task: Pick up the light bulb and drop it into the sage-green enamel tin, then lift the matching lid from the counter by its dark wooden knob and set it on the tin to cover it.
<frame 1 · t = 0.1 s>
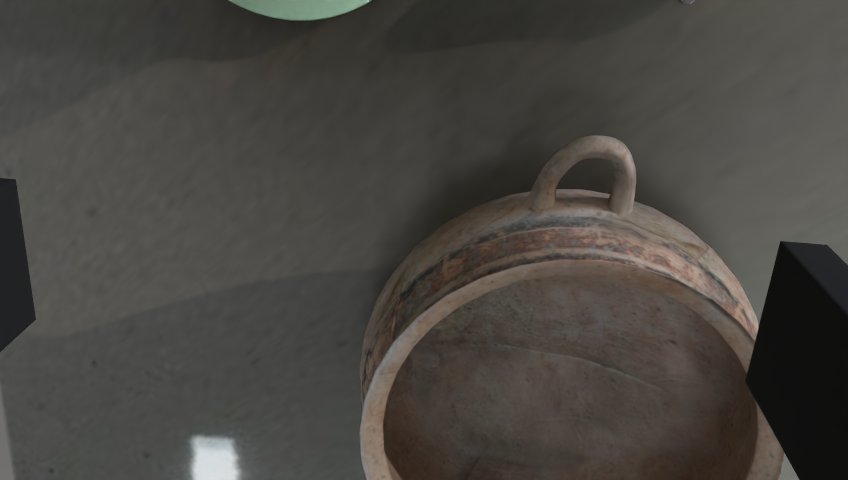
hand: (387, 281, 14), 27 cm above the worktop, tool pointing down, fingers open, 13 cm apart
cooking pot: (546, 312, 45), on the worktop
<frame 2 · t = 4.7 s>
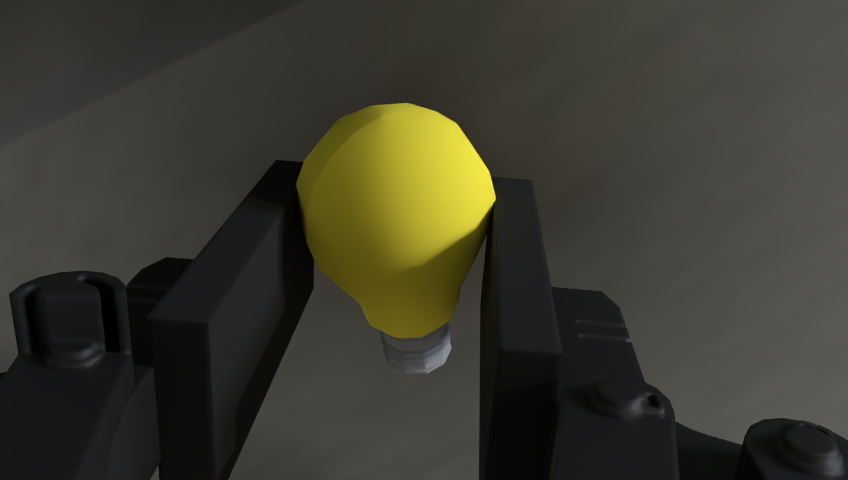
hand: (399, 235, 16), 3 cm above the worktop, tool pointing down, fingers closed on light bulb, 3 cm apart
light bulb: (409, 225, 16), point 3 cm above the worktop, touching gripper
when the fingers open (11 cm above the worktop, at t = 8.0 s): light bulb drops 8 cm, resting on tin.
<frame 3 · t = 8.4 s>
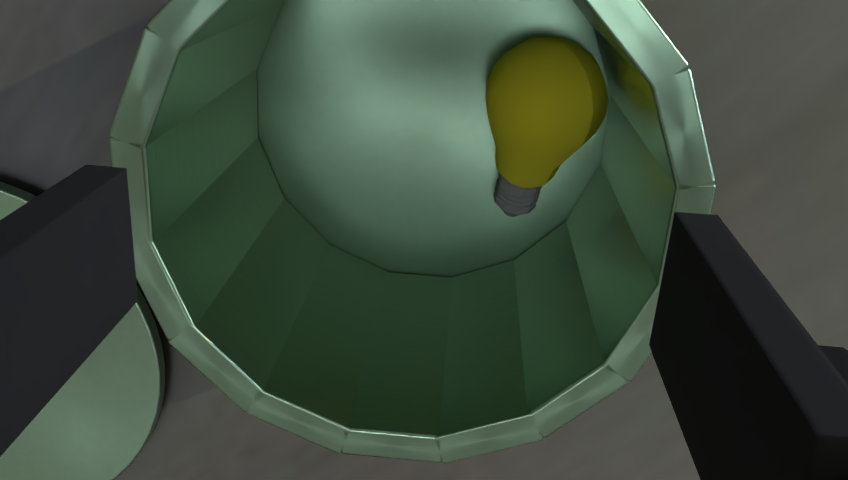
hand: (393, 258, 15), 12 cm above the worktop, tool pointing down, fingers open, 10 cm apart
tin: (431, 112, 26), on the worktop
light bulb: (482, 140, 24), point 2 cm above the worktop, touching tin
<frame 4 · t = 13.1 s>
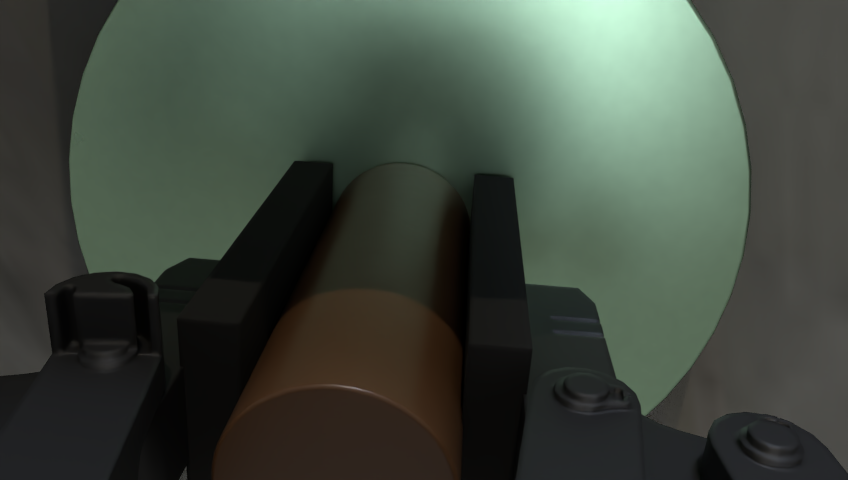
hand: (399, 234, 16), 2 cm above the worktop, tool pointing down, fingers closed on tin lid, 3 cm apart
tin lid: (404, 217, 17), point 1 cm above the worktop, touching gripper
when the fingers open (10 cm above the worktop, at t = 20.0 s): tin lid stays where it is, resting on tin.
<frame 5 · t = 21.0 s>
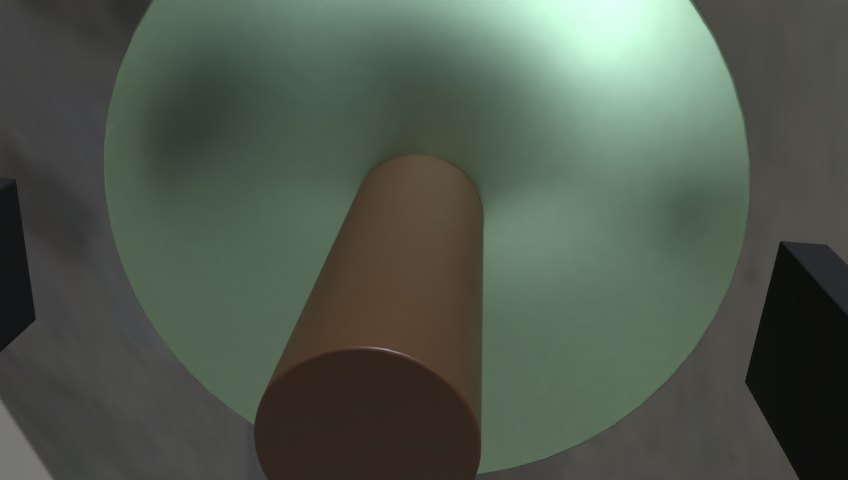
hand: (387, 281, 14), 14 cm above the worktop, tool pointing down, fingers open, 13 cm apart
tin lid: (420, 207, 18), point 9 cm above the worktop, touching tin
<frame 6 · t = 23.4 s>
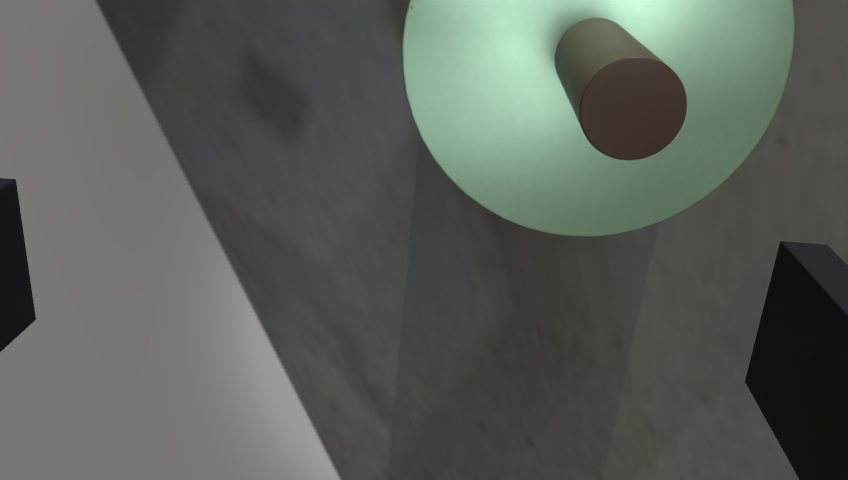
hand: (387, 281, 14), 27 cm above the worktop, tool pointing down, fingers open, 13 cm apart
tin lid: (592, 55, 29), point 9 cm above the worktop, touching tin
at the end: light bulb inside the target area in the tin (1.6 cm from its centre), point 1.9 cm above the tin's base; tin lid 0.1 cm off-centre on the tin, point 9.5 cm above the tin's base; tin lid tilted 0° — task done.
